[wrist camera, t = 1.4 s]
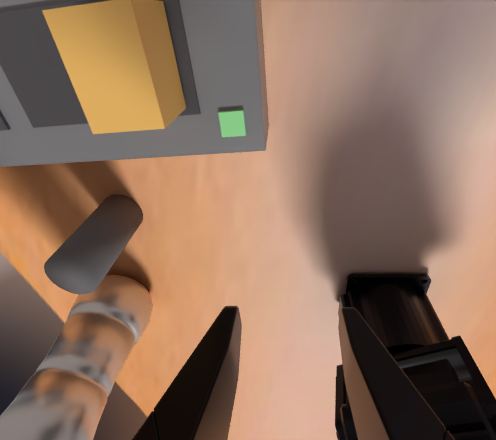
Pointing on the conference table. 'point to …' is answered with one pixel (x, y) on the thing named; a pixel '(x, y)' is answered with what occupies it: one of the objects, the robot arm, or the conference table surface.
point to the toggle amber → (120, 63)
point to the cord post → (94, 246)
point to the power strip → (146, 141)
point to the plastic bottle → (81, 365)
